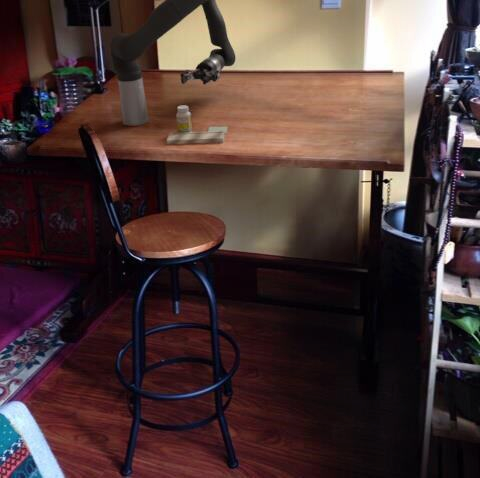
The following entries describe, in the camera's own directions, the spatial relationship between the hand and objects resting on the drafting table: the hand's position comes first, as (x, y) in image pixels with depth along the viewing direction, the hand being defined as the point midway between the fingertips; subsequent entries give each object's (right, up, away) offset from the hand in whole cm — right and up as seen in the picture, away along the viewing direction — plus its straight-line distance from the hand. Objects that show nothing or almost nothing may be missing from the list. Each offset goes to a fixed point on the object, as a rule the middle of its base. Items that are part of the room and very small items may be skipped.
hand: (193, 81), depth 232 cm
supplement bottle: (-3, -19, -1) cm, 19 cm away
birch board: (+2, -23, -9) cm, 25 cm away
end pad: (+9, -19, -2) cm, 21 cm away
